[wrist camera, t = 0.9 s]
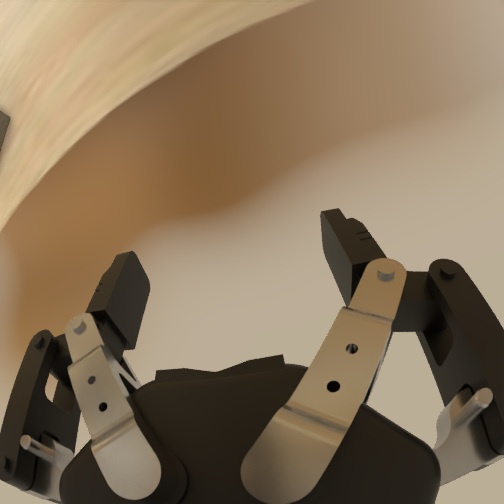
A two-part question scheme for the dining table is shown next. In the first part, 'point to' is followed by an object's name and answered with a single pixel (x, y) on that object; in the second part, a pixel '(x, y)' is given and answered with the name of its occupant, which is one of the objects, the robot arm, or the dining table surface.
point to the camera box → (3, 126)
